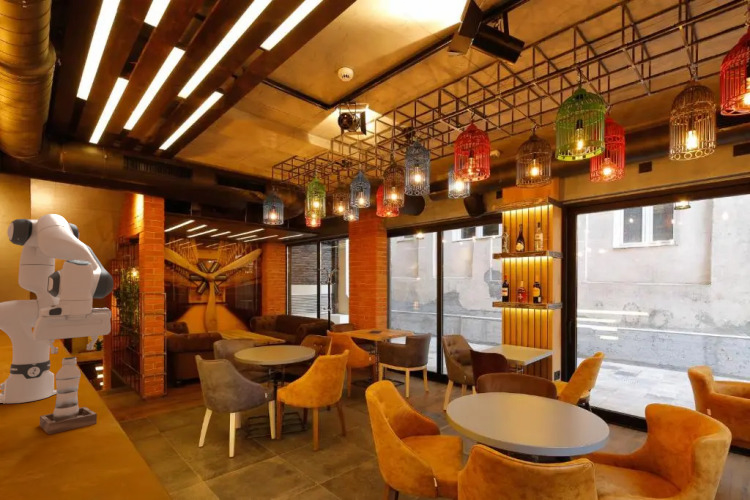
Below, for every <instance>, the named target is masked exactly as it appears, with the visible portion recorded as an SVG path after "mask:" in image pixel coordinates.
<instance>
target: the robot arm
mask: <svg viewBox="0 0 750 500" xmlns="http://www.w3.org/2000/svg"><path fill="white" fill-rule="evenodd" d="M6 234H7V237H8V240H9V242H10V243H12V244H13V245H16V246H20V247H21V246H22V250H21V253H20V257H19V268H18V281H17V282H18V285H19V286H20V288H22V289H24V290H26V291H28V292H32V293H34V294H35V296H36V299H16V300H15V299H13V300H8V301H2V302H0V330H1V331H2V332H4V333H5V334H6V335H7V336H8V337H9V339H10V341H11V345H12V363H11V364H10V368H9V376H8V378H6V379H5V380H4V382H2V383H0V390H1V392H0V403H3V404H21V403H28V402H34V401H39V400H44V399H46V398H49V397H51V396H53V395H57V389H55V373H53V372H52V371H50V369H51V360H50V354H51V355H55V354H58V353H59V351H58V350H59V347H55V346H54V344H55V340H61V339H71V338H72V339H73V338H84V337H90V339H91V341H90V342H89V343H87V344H86V350H87V351H88V350H89V351H90V350H94V345H95V343H97V340H98V339H99V336H105V335H106V336H108V335H109V334H110V333H111V330H112V325H111V319H112V314H113V313H112V310H111V309H109V308H107V307H93V301H94V300H93V299H104V298H105V297H106V296H108V295H109V294H110V293H111V292H112V291H113V289H114V278H113V276H112V274H110V273H109V271H107V270H106V269H105V268H104V266H103V264H102V263H101V261H100V260H99V258H98V257H97V255H96V254H95V253H94V251H93V249H92V248H91V247H90V246H89V245H87V243H84V242H82V241H81V240H80V232H79V228H78V226H77V225H76V224H73V223H70V222H68V220H66V219H65V217H63V216H62V215H60V214H56V213H47V214H44V215H43V216H40V217H39V218H38V219H28V218H17V219H14V220H12V221H11V222H10V224H9V225H8V227H7V233H6ZM56 259H57V260H63V261H64V262H63V265H62V268H61V269H59V270H56V271H55V269H56ZM32 328H33V329H32Z"/></svg>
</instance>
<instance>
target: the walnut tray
mask: <svg viewBox="0 0 750 500" xmlns="http://www.w3.org/2000/svg"><path fill="white" fill-rule="evenodd" d="M53 413H54V412H53ZM53 413H49V414H44V415H40V416H39V427H40V428H41V429H42V430H43V431H44V432H45V433H46V434H48V435H53V434H57V433H60V432H66V431H69V430H74V429H79V428H84V427H87V426H91V425H95V424H97V418H98V414H97V413H96V412H94V411H93V410H92V409H89V408H88V407H87V406H82V407H79V414H78V416H77V417H76V418H72V419H67V420H63V421H58V422H55V421H54V418H53Z"/></svg>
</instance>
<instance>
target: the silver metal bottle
mask: <svg viewBox="0 0 750 500" xmlns="http://www.w3.org/2000/svg"><path fill="white" fill-rule="evenodd" d="M77 363H78V362H77V356H70V357H69V356H68V357H63V358H62V361H61V365H62V366H61V367H60V368H59V370H57V372H56V374H55V382H56V383H55V384H56V390H57V394H56V400H55V406H54V410H53V418H54V421H55V422H58V421H63V420H67V419H72V418H76V417H77V416H78V414H79V408H80V407H79V400H78V390H79V385H80V379H81V374H82V373H81V370H80V369H79V367H78V366H77Z"/></svg>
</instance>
